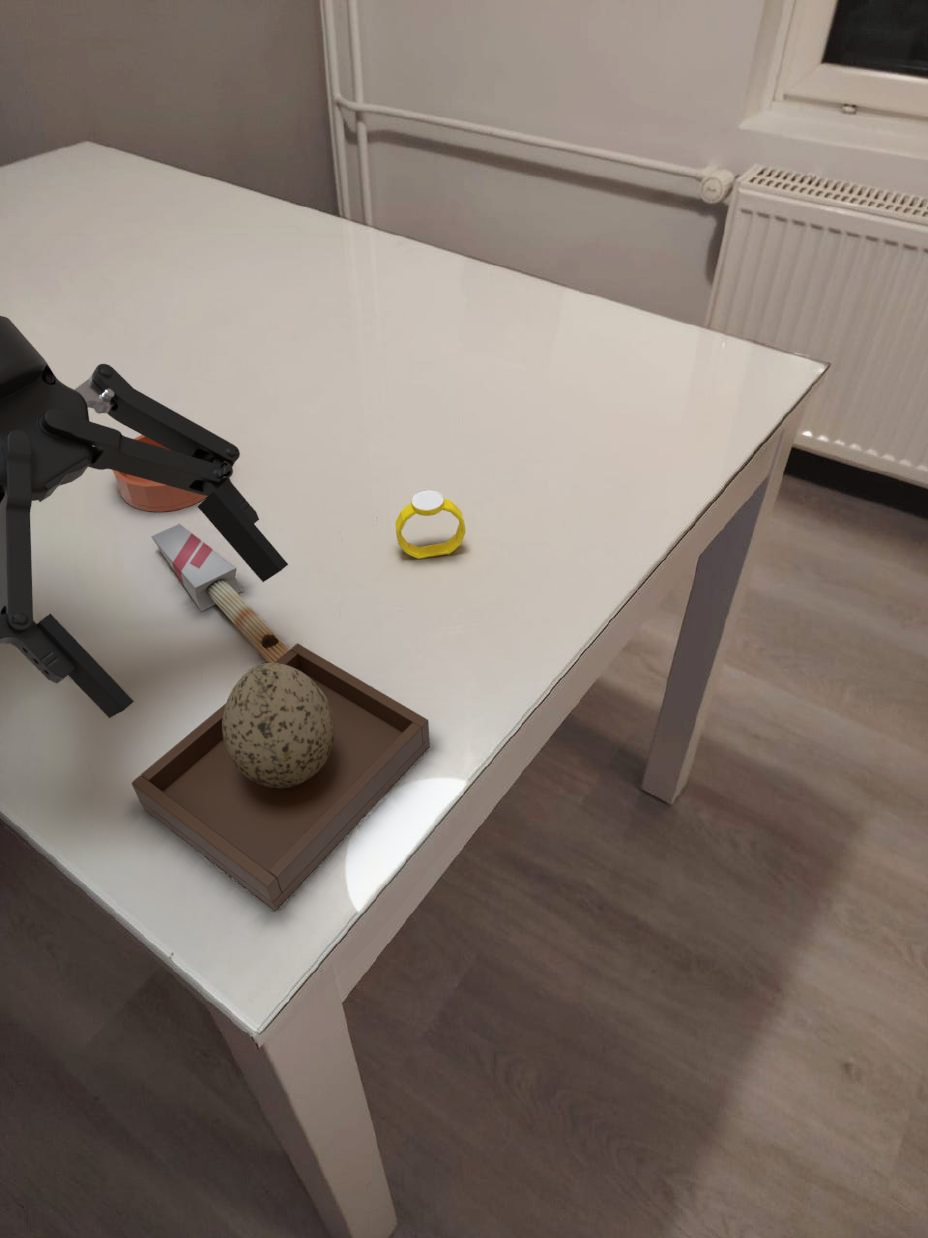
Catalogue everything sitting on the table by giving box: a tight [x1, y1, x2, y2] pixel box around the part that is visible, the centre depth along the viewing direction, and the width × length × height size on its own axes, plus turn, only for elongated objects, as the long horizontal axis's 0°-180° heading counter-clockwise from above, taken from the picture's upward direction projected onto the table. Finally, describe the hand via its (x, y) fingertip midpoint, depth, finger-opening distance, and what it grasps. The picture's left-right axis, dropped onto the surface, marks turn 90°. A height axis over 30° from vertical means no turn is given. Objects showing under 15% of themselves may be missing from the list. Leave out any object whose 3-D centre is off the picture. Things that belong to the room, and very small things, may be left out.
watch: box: [395, 489, 467, 560], centre depth 75 cm, size 6×3×6 cm, turn 100°
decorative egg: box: [222, 662, 335, 788], centre depth 56 cm, size 7×7×10 cm
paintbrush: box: [150, 523, 290, 663], centre depth 72 cm, size 4×3×20 cm
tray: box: [131, 643, 431, 911], centre depth 60 cm, size 16×13×3 cm
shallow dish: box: [112, 434, 208, 513], centre depth 84 cm, size 10×10×3 cm
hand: (205, 637), depth 53 cm, fingers open, 13 cm apart
